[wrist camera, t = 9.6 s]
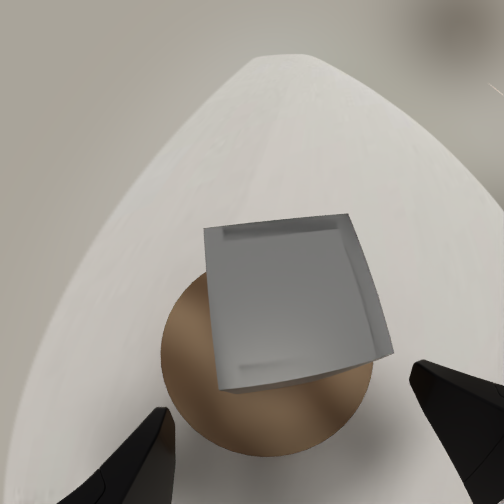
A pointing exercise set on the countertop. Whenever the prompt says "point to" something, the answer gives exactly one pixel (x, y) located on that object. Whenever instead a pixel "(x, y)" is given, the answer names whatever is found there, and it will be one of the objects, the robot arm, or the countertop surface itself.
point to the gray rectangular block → (291, 302)
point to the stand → (248, 404)
